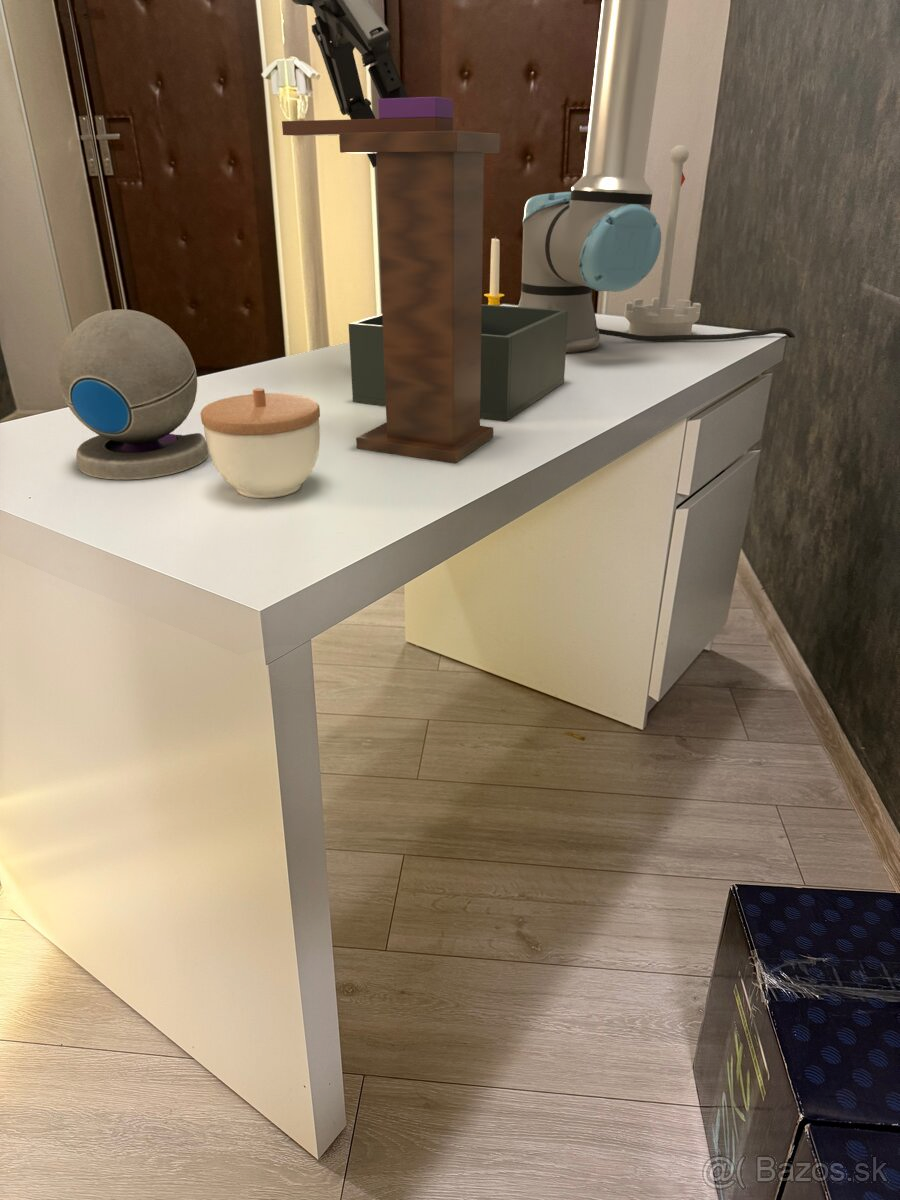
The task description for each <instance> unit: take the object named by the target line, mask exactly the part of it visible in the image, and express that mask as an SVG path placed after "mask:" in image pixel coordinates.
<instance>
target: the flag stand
mask: <svg viewBox="0 0 900 1200" xmlns="http://www.w3.org/2000/svg"><path fill="white" fill-rule="evenodd" d="M689 153H690V152H689V149H688V147H687V146H686V145H684V144H678V145H675V146H674V147H673V148H672V149H671V151H670V155H669V157H670V161H671V162H672V164H673V166H672V167H673V168H672V175H671V176H672V177H671V185H670V194H669V195H670V196H669V205H668V213H667V221H666V232H665V240H664V250H663V259H662V268H661V274H660V275H661V277H660V285H659V287H660V288H659V294H658V297H652V298H651V304H644V299H642V298H634V299H633V298H632V299H630V301H625V306H624V314H623V315H624V318H625V319H626V320H627V321H628V322H629V326H628V333H629V334H634V335H643V336H666V335H692V329H693V325H694V324H695V323H696V322H697V321H699V319H700V314H701V308H702V307H701V306H702V304H701V303H700V302H692V300H688V299H680V298H679V299H677V300H676V305H675V304H668V298H669V290H670V282H671V274H672V264H673V257H674V256H673V255H674V248H675V240H676V239H675V238H676V231H677V230H676V229H677V220H678V211H679V204H680V196H681V195H680V194H681V188H682V186H683V184H684V182H685V180H686V177H685V174H684V172H683V168H684V164H685V163H686V162H687V161H688V159H689V157H690V155H689Z"/></svg>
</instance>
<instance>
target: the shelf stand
mask: <svg viewBox="0 0 900 1200" xmlns="http://www.w3.org/2000/svg"><path fill="white" fill-rule="evenodd" d="M338 140H339V142H338V143H339V153H340V154H342V153H343V154H367V153H376V162H377V166H376V185H377V206H378V207H377V209H378V210H377V212H378V234H379V235H378V236H379V237H378V238H379V262H380V290H381V314H382V318H383V344H384V371H385V397H386V406H385V418H386V419H385V421H386V422H384V423H381V424H380V425H378V426H376V427H374V428H372V429H370V430H368V431H366V432H365V433H363V434H361V435H359V436H356V437H355V443H356V444H355V445H356V449H361V450H367V451H373V452H379V453H386V454H393V455H400V456H406V457H413V458H420V459H425V460H432V461H438V462H446V463H453V464H457V463H458V462H460V461H461V460H462V459H464V458H465V457H467V456H468V455H470V454H471V453H473V452H475V450H477V449H478V448H480V447H482V446H483V445H484V444H486V443H488V442H489V441H490V440H492V439H493V438H494V427H492V426H485V425H481V418H480V383H481V318H482V303H483V248H484V247H483V246H484V185H485V184H484V181H485V180H484V178H485V176H484V175H485V172H484V171H485V154H499V153H500V152H501V134H500V133H492V132H479V131H478V132H476V131H464V130H463V131H462V130H453V131H424V132H367V133H339V135H338Z"/></svg>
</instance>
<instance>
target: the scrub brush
mask: <svg viewBox="0 0 900 1200" xmlns="http://www.w3.org/2000/svg"><path fill="white" fill-rule="evenodd" d="M377 101H378V118H376V119H351V118H350V119H317V120H316V119H315V120H282V121H281V128H282V129H281V130H282V136H297V137H323V136H325V137H326V136H328V137H329V136H333V137H334V136H339V133H367V132H424V131H454V110H453V109H454V99H453V98H447V97H440V96H421V97H420V96H418V97H409V98H387V99H381V98H378V99H377Z"/></svg>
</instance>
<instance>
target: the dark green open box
mask: <svg viewBox="0 0 900 1200" xmlns="http://www.w3.org/2000/svg"><path fill="white" fill-rule="evenodd" d="M567 325H568V310H556V309H542V308H527V307H518V306H513V305H500V306H499V305H488V304H482V318H481V383H480V419H486V420H493V421H500V422H501V421H502V422H507V421H509V420H510V419H512V418H514V417H515V416H517V415H518V414H520V413H521V412H523V411H524V410H525V409H527V408H528V407H530V406H531V405H533V404H535V403H536V402H538V401H539V400H540V399H542V398H543V397H545V396H547V395H548V394H549V393H551V392H552V391H554V390H555V389H557V388H559V387H560V386H561V385H563V384H564V383H565V374H566V373H565V371H566V356H567V352H566V341H567ZM348 340H349V341H348V343H349V357H350V360H349V361H350V374H351V375H350V376H351V392H352V393H351V395H352V403H353V402H354V403H359V404H369V405H374V406H375V405H376V406H384V407H386V397H385V371H384V344H383V318H382V313H379V314H377V315H374V316H370V317H367V318H366V317H365V318H362V319H359V320H356V321H353V322H350V323H348Z"/></svg>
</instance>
